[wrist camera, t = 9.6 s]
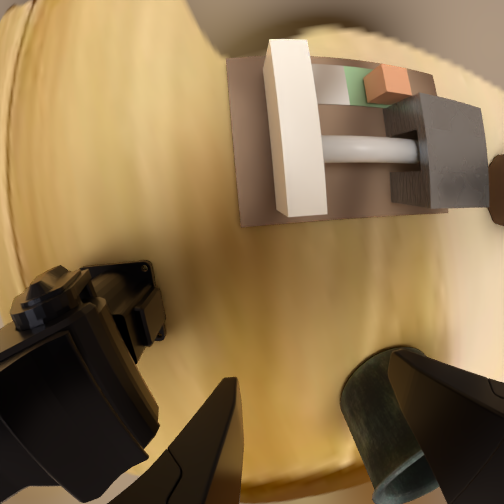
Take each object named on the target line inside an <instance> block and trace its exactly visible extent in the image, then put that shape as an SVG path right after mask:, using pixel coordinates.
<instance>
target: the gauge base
mask: <svg viewBox="0 0 504 504" xmlns="http://www.w3.org/2000/svg"><path fill="white" fill-rule="evenodd" d="M265 58H266V56H254V57H238V58H226V64H227V76H228V88H229V100H230V112H231V123H232V135H233V146H234V157H235V168H236V179H237V190H238V201H239V212H240V222H241V227H252V226H263V225H274V224H285V223H297V222H309V221H322V220H336V219H350V218H364V217H380V216H397V215H415V214H435V213H448V208H436V209H430V208H424V207H418V206H412V205H406V204H399V203H393V202H391V190H390V173H389V172H409V171H421V164H420V160H419V162H418V163H417V164H407V163H368V162H348V163H324V170H325V183H326V198H327V214H324V215H311V216H298V217H287V216H285V215H284V214H282V213H281V212H279V211H278V210H276V198H275V186H274V174H273V163H272V152H271V141H270V131H269V121H268V112H267V102H266V93H265V84H264V75H263V67H264V62H265ZM310 59H311V65H312V71H313V77H314V84H315V91H316V98H317V105H318V113H319V121H320V129H321V135H343V136H373V137H386V131H385V124H384V117H383V110H382V109H384V108H386V107H388V106H390V105H385V104H376V103H367V97H366V91H365V85H364V80H363V78H364V77H365V76H366V75H367V74H369V73H370V72H371V71H372V70H374V69H375V68H376V67H378V66H379V65H380V63H373V62H367V61H359V60H351V59H341V58H330V57H314V56H310ZM407 73H408V78H409V82H410V87H411V92H412V95H414V94H417V93H419V92H420V93H425V94H429V95H434V96H437V93H436V89H435V84H434V80H433V76H432V75H431V74H427V73H423V72H419V71H415V70H410V69H407ZM407 98H408V97H407ZM405 99H406V98H405ZM394 104H395V103H394ZM392 105H393V104H392ZM416 141H417V142H418V140H416Z"/></svg>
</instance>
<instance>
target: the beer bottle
mask: <svg viewBox="0 0 504 504" xmlns="http://www.w3.org/2000/svg"><path fill="white" fill-rule="evenodd" d="M488 173H489V207H488V209H489V211H490V214H491V216H492V219H493V221H494V222H495V223H496V224H499V225H502V226H504V155H497V156H496V157H495V159H494V160H493V162H492V163H491V165H490V166H489V168H488Z"/></svg>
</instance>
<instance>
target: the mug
mask: <svg viewBox="0 0 504 504" xmlns="http://www.w3.org/2000/svg"><path fill="white" fill-rule="evenodd" d="M399 349H406V350H409V351H412V352H414V353H417V354H420V355H423V356H425V357H427V356H426V355H425V354H424V353H422V352H421V351H420V350H418V349H415V348H411V347H400V348H393V349H389V350H386V351H384V352H381V353H379V354H377V355H375V356H373V357H372V358H370V359H369V360H367V361H366V362H365V363H364V364H362V365H361V366H360V367H359V368H358V369H357V370H356V371H355V372H354V373H353V375H352V376H351V377H350V378H349V380H348V382H347V383H346V385H345V388H344V390H343V393H342V396H341V402H340V406H341V411H342V413H343V415H344V418H345V420H346V422H347V425H348V427H349V429H350V432H351V434H352V436H353V439H354V441H355V443H356V446H357V448H358V451H359V453H360V455H361V458H362V460H363V463H364V465H365V467H366V470H367V472H368V475H369V477H370V479H371V482H372V484H373V487H374V493H373V496H372V500H373V502H374V503H375V504H403V503H406V502H409V501H412V500H414V499H417V498H419V497H421V496H423V495H425V494H427V493H429V492H431V491H433V490H434V489H436V488H438V487H439V484H438V482H437V480H436V478H435V476H434V474H433V471H432V469H431V467H430V465H429V463H428V461H427V459H426V457H425V455H424V453H423V451H422V449H421V447H420V445H419V443H418V441H417V439H416V437H415V435H414V434H413V432H412V430H411V428H410V426H409V424H408V422H407V420H406V418H405V416H404V414H403V412H402V410H401V408H400V405H399V403H398V400H397V397H396V395H395V392H394V390H393V387H392V385H391V383H390V380H389V377H388V368H389V363H390V357H391V354H392V352H393V351H396V350H399Z"/></svg>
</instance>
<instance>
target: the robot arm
mask: <svg viewBox="0 0 504 504" xmlns="http://www.w3.org/2000/svg"><path fill="white" fill-rule="evenodd" d="M143 265H146V266H147V268H148V269H147V270H144V269H143ZM10 315H11V317H12V319H13V321H12V322H11V323H9V324H7V325H6V326H4V327H2V328H1V329H0V504H2V503H3V502H5V501H6V500H8V499H9V498H11V497H12V496H14V495H15V494H17V493H18V492H20V491H21V490H23V489H25V488H27V487H29V486H62V487H63V488H64V489H65V490H66V491H67V492H69V493H70V494H71V495H72V496H73V497H74V498H76V499H77V500H78V501H79V502H82V503H86V502H89V501H92V500H94V499H97V498H99V497H101V496H102V494H103V493H104V492H105V491H106V490H107V489H108V488H109V486H110V485H111V484H112V483H113V482H114V481H115V480H116V479H117V478H118V477H119V476H120V475H121V474H123V473H124V472H126V471H127V470H128V469H130V468H131V467H133V466H135V465H137V464H139V463H141V462H143V461H146V460H147V459H148V458H149V455H148V454H147V453H146V452H145V451H144V449H145V447H146V446H147V445H148V444H149V443H150V441H151V440H152V439H153V438H154V437H155V435H156V433H157V431H158V429H159V427H160V424H159V423H158V409H159V407H158V405H157V403H156V401H155V399H154V397H153V395H152V394H151V392H150V390H149V388H148V387H147V385H146V383H145V381H144V379H143V378H142V376H141V374H140V372H139V370H138V368H137V366H136V364H137V363H138V361H139V359H140V357H141V355H142V353H143V351H144V349H145V348H146V347H150V346H151V345H152V344H153V342H154V341H162V340H164V338H165V336H166V331H165V327H164V321H165V319H166V317H165V312H164V308H163V303H162V298H161V293H160V289H159V288H158V287H157V286H156V284H155V279H154V274H153V268H152V264H151V263H150V262H149V261H147V260H142V261H132V262H122V263H112V264H102V265H91V266H83V267H81V268H80V269H79V270H76V271H72V272H71V271H68V270H67V269H65V268H64V267H63V266H61V265H59V266H56V267H54V268H52V269H50V270H48V271H46V272H44V273H42V274H41V275H39V276H37V277H36V278H35V279H34V280H33V282H32V283H31V284H30V286H29V287H28V288H26V290H25V291H24V293H22V294H20V295H19V296H17V297H15V298H14V300H13V303H12V307H11V310H10ZM158 333H161V334H162V336H159V335H158ZM388 377H389V380H390V383H391V385H392V387H393V390H394V392H395V395H396V397H397V400H398V403H399V405H400V408H401V410H402V412H403V414H404V416H405V418H406V420H407V422H408V424H409V426H410V428H411V430H412V432H413V434H414V435H415V437H416V439H417V441H418V443H419V445H420V447H421V449H422V451H423V453H424V455H425V457H426V459H427V461H428V463H429V465H430V467H431V469H432V471H433V474H434V476H435V478H436V480H437V482H438V484H439V486H440V488H441V491H442V493H443V495H444V497H445V499H446V501H447V504H504V383H502V382H499V381H496V380H493V379H490V378H489V379H488V378H486V377H483V376H480V375H477V374H474V373H471V372H468V371H465V370H462V369H459V368H457V367H454V366H451V365H448V364H445V363H442V362H439V361H437V360H434V359H431V358H428V357H425V356H423V355H420V354H417V353H414V352H412V351H409V350H406V349H399V350H396V351H393V352H392V354H391V357H390V363H389V368H388ZM243 452H244V434H243V418H242V403H241V395H240V388H239V382H238V378H237V377H228V378H223V379H222V381H221V382H220V383H219V385H218V386H217V387H216V388H215V390H214V391H213V392H212V394H211V395H210V396H209V397H208V399H207V400H206V401H205V403H204V404H203V405H202V406H201V408H200V409H199V410H198V411H197V413H196V414H195V415H194V416H193V418H192V419H191V420H190V421H189V423H188V424H187V425H186V426H185V427H184V429H183V430H182V431H181V432H180V434H179V435H178V436H177V437H176V438H175V440H174V441H173V442H172V443H171V444H170V445H169V447H168V450H167V449H166V450H165V451H164V452H163V454H162V455H161V456H160V457H159V458H158V459H157V460H156V461H155V462H154V464H153V465H152V466H151V467H150V468H149V469H148V470H147V471H146V472H145V473H144V474H142V475H141V476H140V477H139V478H138V479H137V480H136V481H135V482H134V483H132V484H131V485H130V486H129V487H128V488H126V489H125V490H124V491H123V492H121V493H120V494H119V495H118V496H116V497H115V498H114V499H113V500H111V501H110V502H109V503H107V504H239V500H240V488H241V476H242V464H243Z"/></svg>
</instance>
